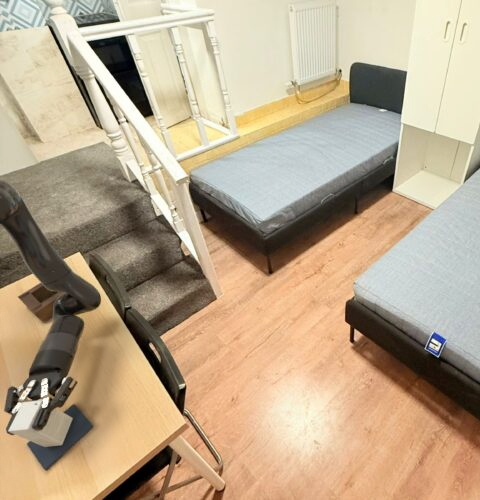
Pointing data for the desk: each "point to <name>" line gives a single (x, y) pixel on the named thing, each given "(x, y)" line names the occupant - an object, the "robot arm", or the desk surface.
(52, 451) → the mat
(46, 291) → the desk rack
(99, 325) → the desk surface
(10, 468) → the desk surface
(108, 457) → the desk surface
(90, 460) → the desk surface
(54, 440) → the cosmetic box
